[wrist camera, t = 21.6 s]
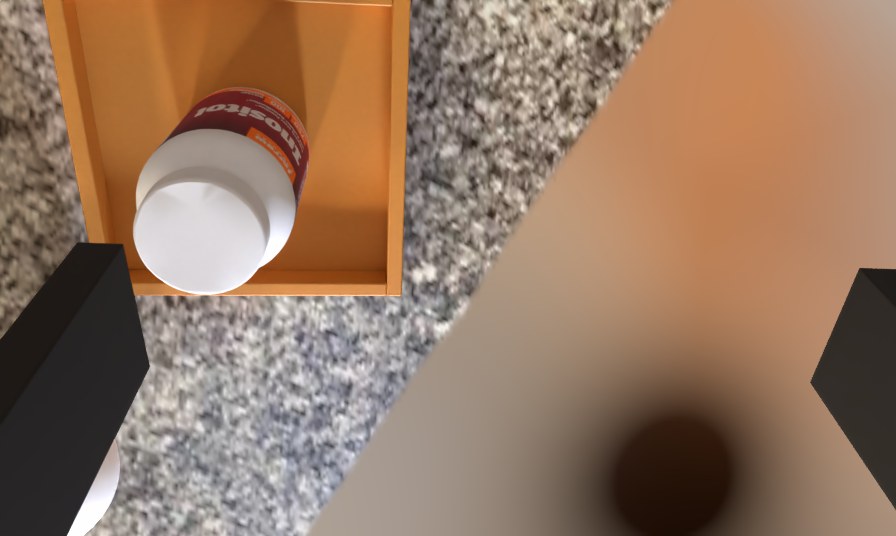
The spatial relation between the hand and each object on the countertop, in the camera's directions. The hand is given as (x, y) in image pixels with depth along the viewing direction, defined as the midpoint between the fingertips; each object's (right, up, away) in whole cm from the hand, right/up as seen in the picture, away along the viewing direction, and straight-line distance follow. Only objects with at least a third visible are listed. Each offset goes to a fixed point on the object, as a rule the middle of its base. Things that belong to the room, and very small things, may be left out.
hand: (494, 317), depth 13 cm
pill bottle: (-11, +7, +23) cm, 26 cm away
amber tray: (-11, +7, +23) cm, 26 cm away
